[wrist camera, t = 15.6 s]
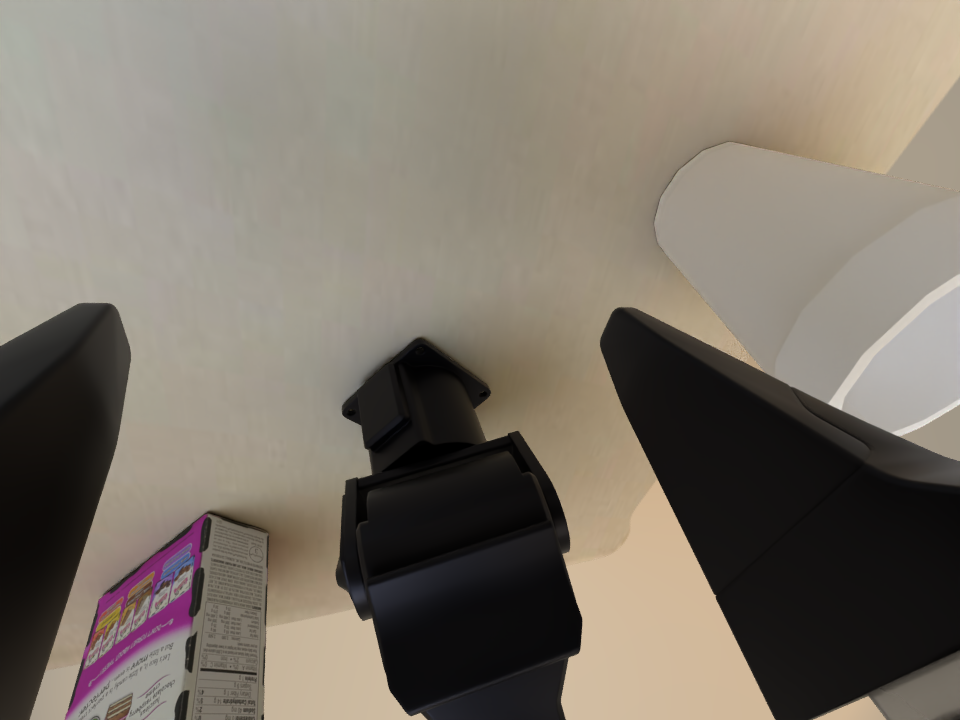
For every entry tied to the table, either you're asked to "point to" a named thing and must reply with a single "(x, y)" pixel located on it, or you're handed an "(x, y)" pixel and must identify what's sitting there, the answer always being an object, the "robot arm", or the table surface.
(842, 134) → the table surface
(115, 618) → the candy bar box
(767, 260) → the foam cup
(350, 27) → the table surface
